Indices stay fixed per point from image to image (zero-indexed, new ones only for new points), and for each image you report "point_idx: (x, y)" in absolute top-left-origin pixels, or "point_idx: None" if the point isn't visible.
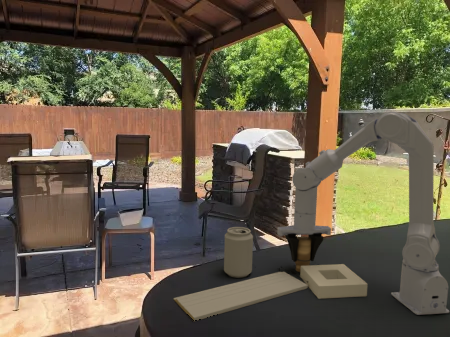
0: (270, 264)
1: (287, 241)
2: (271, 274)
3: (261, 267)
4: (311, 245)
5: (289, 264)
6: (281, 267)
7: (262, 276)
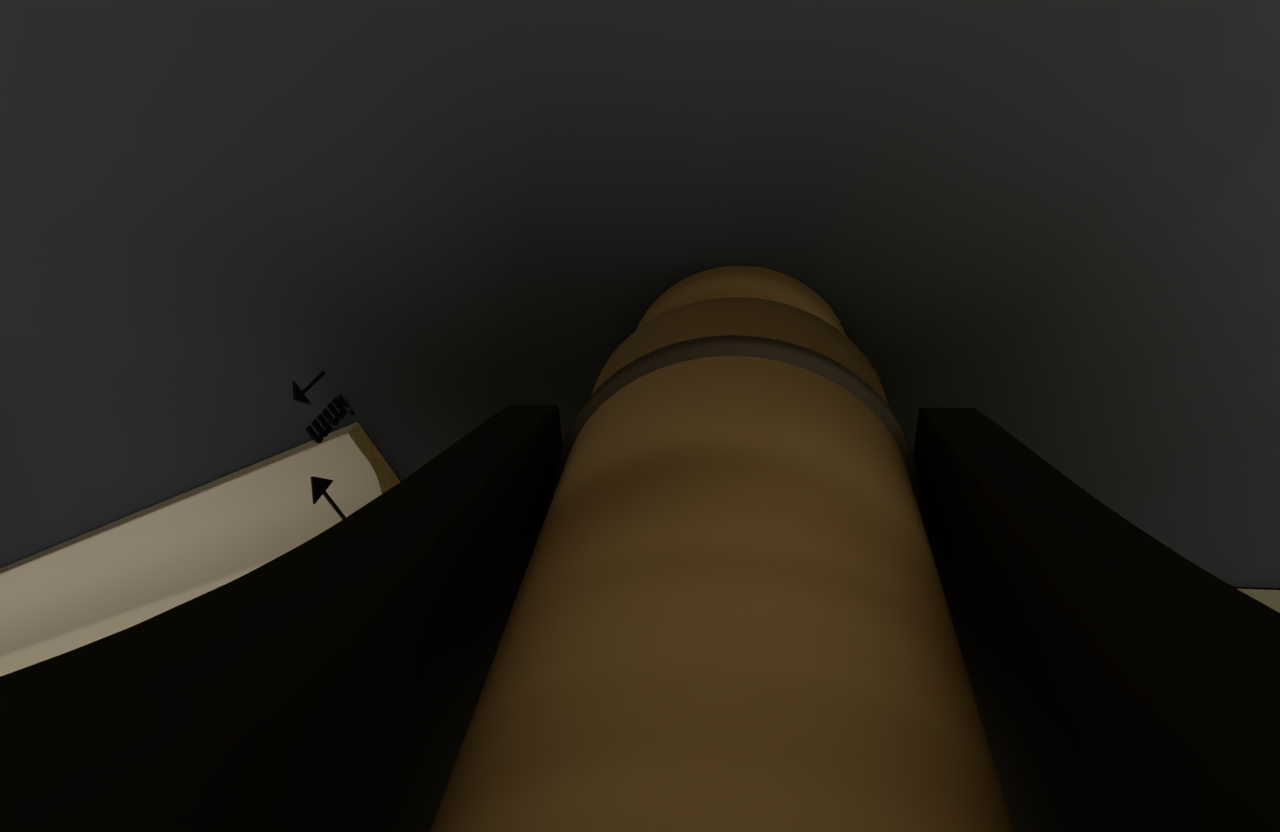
0: (185, 52)
1: (133, 639)
2: (220, 505)
3: (43, 194)
4: (1027, 792)
5: (575, 72)
6: (327, 495)
7: (109, 544)
